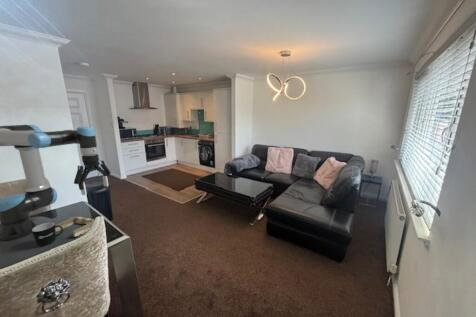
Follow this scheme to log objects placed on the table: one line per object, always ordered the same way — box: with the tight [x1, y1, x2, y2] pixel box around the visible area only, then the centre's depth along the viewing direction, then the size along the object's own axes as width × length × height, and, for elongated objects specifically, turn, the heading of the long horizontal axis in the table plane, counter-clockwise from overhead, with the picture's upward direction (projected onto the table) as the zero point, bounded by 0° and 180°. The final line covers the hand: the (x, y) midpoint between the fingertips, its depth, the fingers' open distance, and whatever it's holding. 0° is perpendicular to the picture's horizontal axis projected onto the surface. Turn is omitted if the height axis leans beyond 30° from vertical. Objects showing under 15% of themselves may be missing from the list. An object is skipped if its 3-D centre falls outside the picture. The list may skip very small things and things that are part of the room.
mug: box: [31, 222, 64, 247], centre depth 111 cm, size 12×9×10 cm
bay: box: [55, 215, 96, 238], centre depth 123 cm, size 19×14×4 cm
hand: (95, 190), depth 114 cm, fingers open, 13 cm apart
